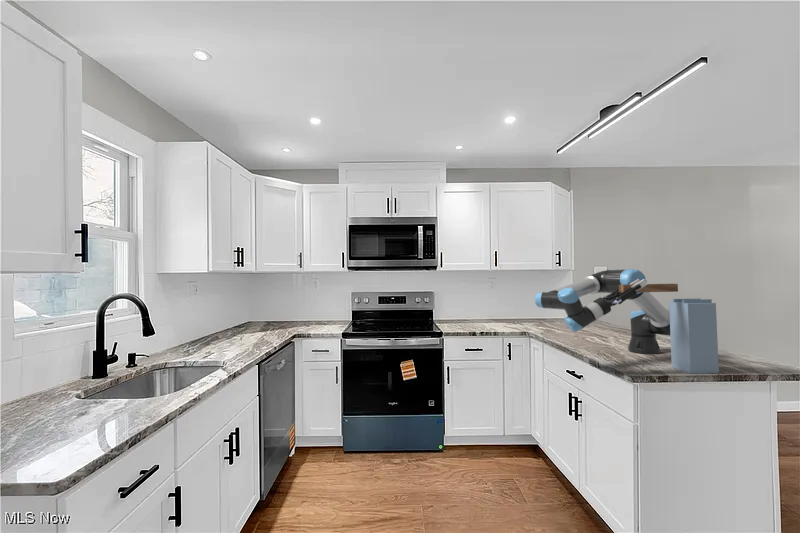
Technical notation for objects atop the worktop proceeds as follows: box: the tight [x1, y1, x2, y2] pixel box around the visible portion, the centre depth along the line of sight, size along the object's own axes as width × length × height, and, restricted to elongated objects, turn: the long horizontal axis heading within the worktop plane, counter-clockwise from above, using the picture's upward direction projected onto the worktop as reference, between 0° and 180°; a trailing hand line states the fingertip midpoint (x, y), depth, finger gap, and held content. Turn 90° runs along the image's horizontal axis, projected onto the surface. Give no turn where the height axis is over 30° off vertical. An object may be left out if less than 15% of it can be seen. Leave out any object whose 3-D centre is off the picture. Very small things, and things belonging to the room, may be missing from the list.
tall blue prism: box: [668, 297, 720, 374], centre depth 174 cm, size 12×12×32 cm
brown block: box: [619, 283, 679, 293], centre depth 175 cm, size 4×24×4 cm, turn 89°
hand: (642, 281), depth 175 cm, fingers closed on brown block, 3 cm apart
